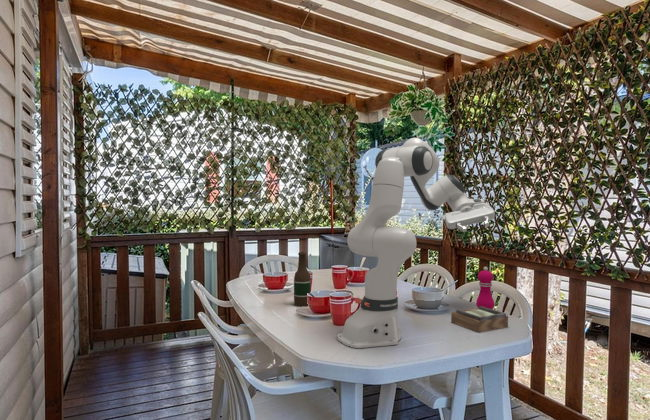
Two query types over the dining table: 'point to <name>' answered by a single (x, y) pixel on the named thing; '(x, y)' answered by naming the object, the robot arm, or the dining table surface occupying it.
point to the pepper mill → (485, 289)
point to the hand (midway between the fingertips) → (476, 227)
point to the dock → (480, 319)
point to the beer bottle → (301, 282)
